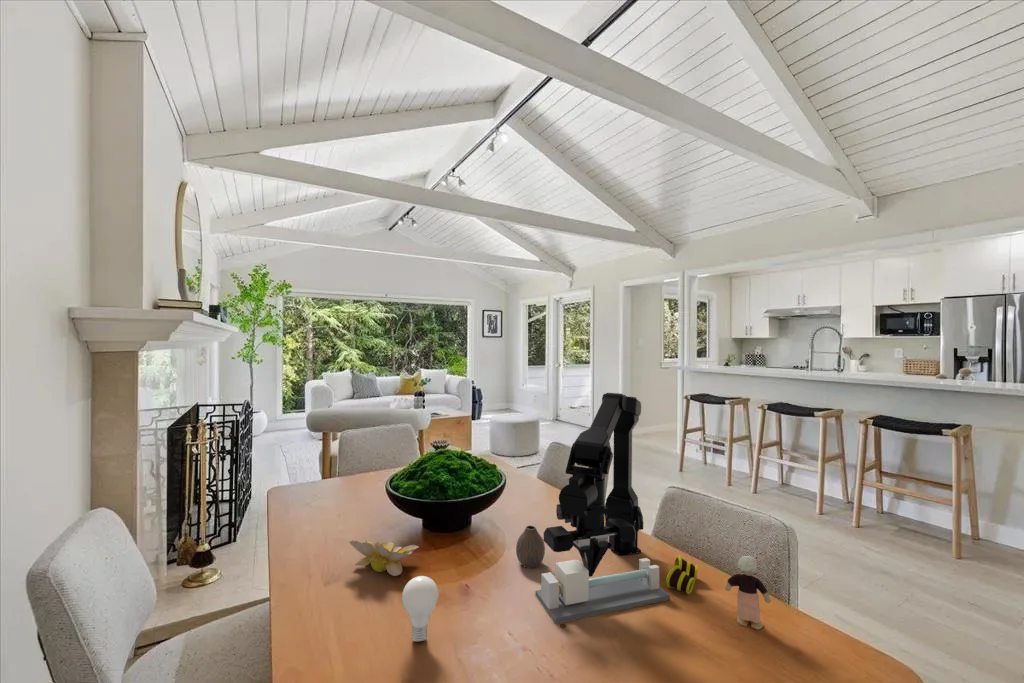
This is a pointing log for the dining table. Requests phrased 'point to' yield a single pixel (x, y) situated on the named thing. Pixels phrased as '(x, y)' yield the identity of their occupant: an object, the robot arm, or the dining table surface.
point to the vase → (530, 548)
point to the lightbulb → (419, 604)
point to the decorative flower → (382, 555)
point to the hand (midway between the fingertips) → (589, 575)
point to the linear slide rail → (604, 593)
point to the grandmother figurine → (748, 593)
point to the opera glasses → (682, 575)
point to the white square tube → (572, 581)
